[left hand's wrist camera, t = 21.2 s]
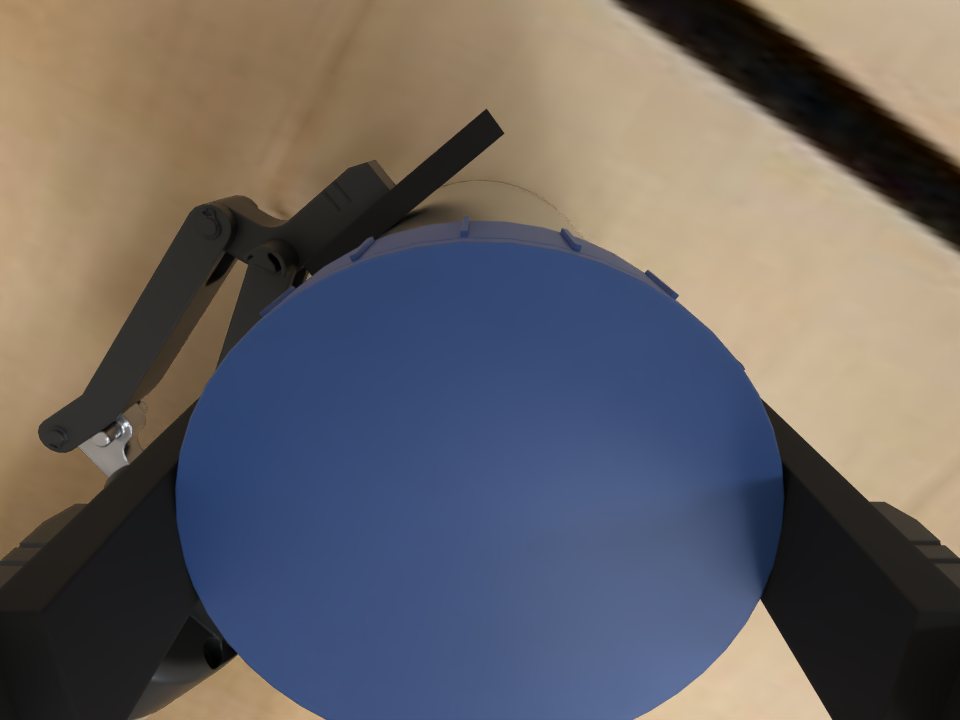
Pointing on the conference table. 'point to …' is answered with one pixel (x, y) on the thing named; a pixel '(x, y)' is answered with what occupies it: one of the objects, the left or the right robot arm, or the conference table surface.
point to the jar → (483, 207)
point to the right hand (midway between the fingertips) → (596, 263)
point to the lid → (479, 484)
